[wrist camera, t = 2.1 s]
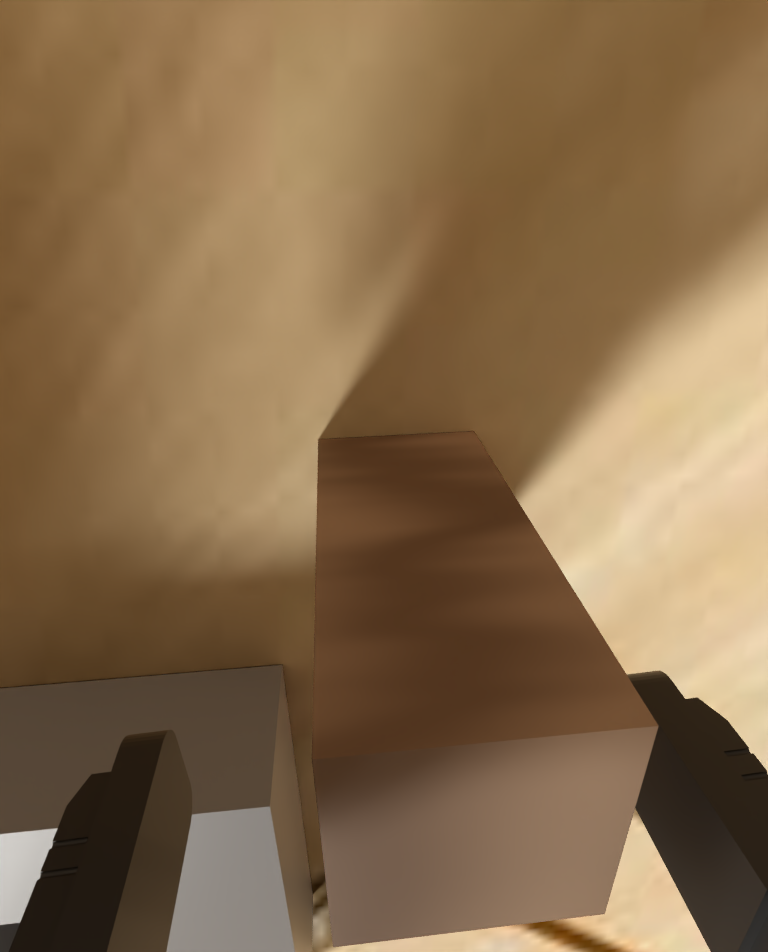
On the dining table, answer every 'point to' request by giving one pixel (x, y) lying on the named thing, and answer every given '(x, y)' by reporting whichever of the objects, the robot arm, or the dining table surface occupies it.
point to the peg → (458, 703)
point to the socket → (213, 797)
